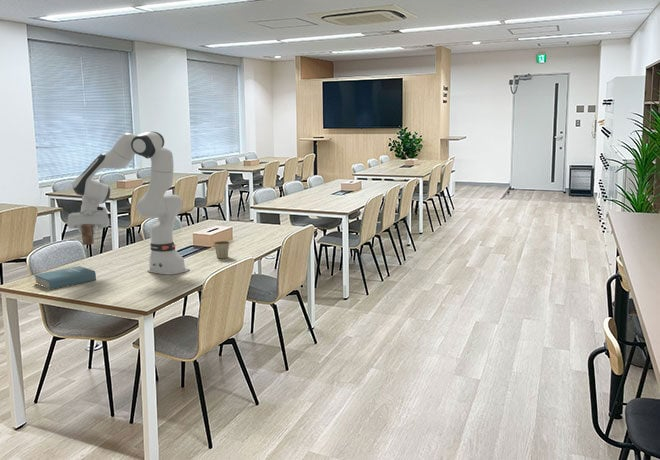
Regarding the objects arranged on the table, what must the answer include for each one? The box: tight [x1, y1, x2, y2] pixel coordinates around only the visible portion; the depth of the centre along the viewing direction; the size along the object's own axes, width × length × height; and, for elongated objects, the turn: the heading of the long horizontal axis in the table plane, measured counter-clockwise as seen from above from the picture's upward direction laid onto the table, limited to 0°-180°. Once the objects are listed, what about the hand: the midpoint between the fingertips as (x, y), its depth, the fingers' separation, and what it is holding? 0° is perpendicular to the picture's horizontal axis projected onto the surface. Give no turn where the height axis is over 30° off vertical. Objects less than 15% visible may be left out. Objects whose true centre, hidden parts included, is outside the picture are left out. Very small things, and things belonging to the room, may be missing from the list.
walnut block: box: [81, 224, 95, 246], centre depth 309 cm, size 4×4×10 cm
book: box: [34, 265, 97, 290], centre depth 293 cm, size 23×16×5 cm
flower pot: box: [213, 240, 231, 259], centre depth 344 cm, size 9×9×9 cm
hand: (87, 233), depth 309 cm, fingers closed on walnut block, 4 cm apart
